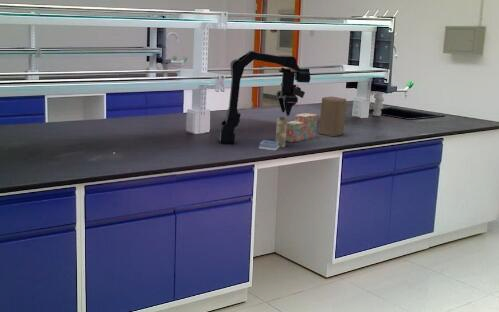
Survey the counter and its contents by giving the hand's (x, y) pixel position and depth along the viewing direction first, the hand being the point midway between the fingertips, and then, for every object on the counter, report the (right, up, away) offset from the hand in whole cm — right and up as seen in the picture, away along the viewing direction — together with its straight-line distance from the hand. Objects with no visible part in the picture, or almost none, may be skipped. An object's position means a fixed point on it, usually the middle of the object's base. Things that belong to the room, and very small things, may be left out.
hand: (285, 114), depth 274 cm
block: (+27, -9, +33) cm, 43 cm away
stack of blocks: (+8, -12, +17) cm, 22 cm away
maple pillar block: (-3, -15, -2) cm, 16 cm away
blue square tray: (-8, -17, -8) cm, 20 cm away
